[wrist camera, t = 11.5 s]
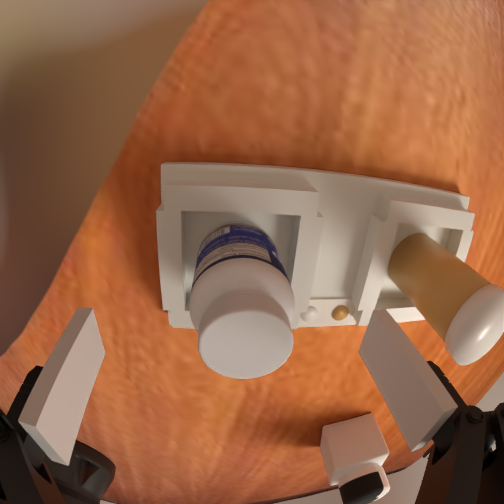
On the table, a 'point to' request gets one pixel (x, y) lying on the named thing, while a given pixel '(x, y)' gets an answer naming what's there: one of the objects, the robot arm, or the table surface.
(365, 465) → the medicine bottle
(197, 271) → the pill bottle
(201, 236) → the rack
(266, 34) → the table surface
